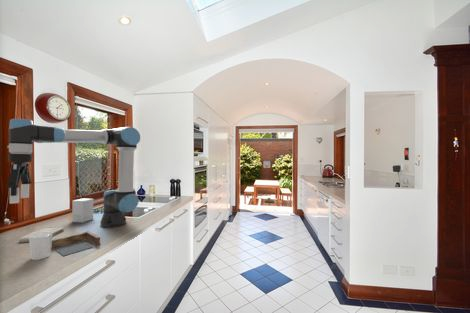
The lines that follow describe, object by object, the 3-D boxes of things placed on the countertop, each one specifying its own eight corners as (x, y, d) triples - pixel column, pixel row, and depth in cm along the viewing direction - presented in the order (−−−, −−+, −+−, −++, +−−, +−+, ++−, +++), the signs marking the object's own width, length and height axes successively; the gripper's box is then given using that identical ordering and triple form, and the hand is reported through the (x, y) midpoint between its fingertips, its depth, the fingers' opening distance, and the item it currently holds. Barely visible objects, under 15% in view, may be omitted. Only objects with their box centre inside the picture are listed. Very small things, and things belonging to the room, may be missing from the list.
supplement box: (93, 219, 154) (94, 198, 154) (83, 222, 146) (83, 201, 146) (83, 218, 156) (83, 198, 156) (71, 222, 147) (71, 200, 147)
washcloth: (65, 231, 131) (65, 226, 131) (43, 242, 113) (43, 237, 113) (44, 231, 129) (44, 226, 129) (18, 243, 112) (18, 237, 112)
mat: (83, 241, 114) (83, 241, 114) (92, 247, 107) (92, 246, 107) (54, 249, 104) (54, 248, 104) (63, 256, 97) (63, 255, 97)
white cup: (33, 254, 99) (34, 232, 99) (55, 251, 102) (55, 230, 102) (25, 262, 92) (25, 238, 92) (48, 258, 95) (48, 236, 95)
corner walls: (88, 238, 118) (88, 231, 118) (100, 244, 110) (100, 237, 110) (50, 248, 105) (50, 240, 105) (60, 256, 97) (60, 248, 97)
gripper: (19, 153, 105) (18, 196, 105) (-4, 152, 84) (-5, 206, 83) (39, 153, 109) (38, 195, 109) (22, 153, 87) (21, 204, 87)
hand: (19, 200), depth 96 cm, fingers open, 13 cm apart
